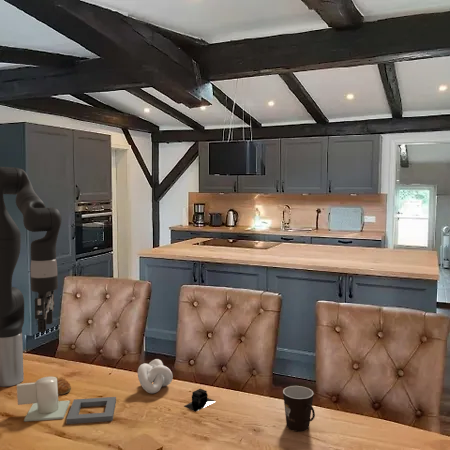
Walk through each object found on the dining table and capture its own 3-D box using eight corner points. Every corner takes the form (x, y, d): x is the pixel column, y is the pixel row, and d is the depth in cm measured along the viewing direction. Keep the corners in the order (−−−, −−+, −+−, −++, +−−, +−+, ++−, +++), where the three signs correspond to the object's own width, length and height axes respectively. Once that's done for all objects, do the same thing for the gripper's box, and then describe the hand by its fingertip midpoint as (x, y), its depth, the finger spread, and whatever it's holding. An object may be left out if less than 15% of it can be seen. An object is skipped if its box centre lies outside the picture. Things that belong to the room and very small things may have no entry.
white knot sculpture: (155, 399, 151) (154, 372, 151) (127, 391, 157) (127, 365, 157) (176, 387, 161) (176, 361, 160) (150, 380, 167) (149, 355, 166)
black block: (193, 416, 141) (193, 401, 141) (177, 408, 146) (176, 394, 146) (220, 402, 151) (220, 388, 150) (204, 395, 156) (204, 382, 155)
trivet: (24, 421, 137) (24, 419, 137) (33, 404, 148) (33, 402, 148) (63, 418, 138) (63, 416, 138) (69, 402, 149) (69, 400, 149)
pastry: (76, 390, 158) (76, 379, 158) (59, 398, 153) (58, 386, 153) (59, 384, 164) (59, 373, 164) (42, 391, 158) (42, 380, 158)
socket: (66, 424, 135) (66, 419, 135) (74, 404, 148) (73, 399, 148) (112, 420, 137) (112, 415, 137) (116, 401, 150) (115, 396, 150)
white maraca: (60, 403, 147) (58, 375, 146) (56, 412, 141) (55, 383, 140) (21, 407, 145) (19, 379, 144) (16, 416, 139) (14, 387, 138)
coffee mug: (281, 418, 139) (281, 385, 138) (310, 419, 138) (311, 386, 138) (285, 439, 127) (285, 403, 126) (317, 439, 127) (317, 404, 126)
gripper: (52, 278, 134) (53, 334, 135) (61, 270, 148) (63, 320, 149) (24, 279, 132) (26, 335, 134) (36, 270, 147) (38, 321, 148)
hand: (45, 327), depth 141 cm, fingers open, 8 cm apart
